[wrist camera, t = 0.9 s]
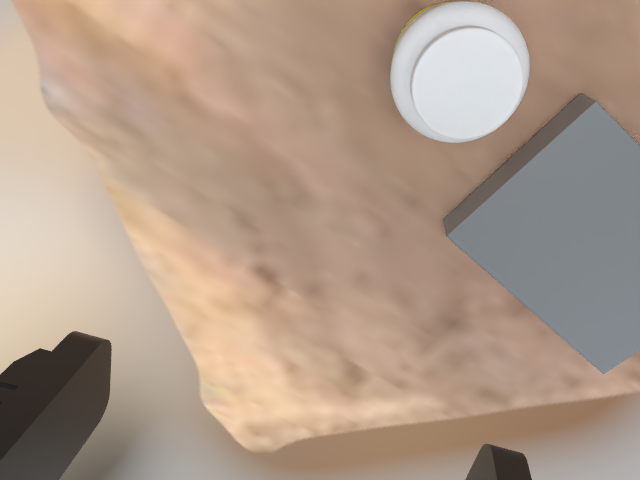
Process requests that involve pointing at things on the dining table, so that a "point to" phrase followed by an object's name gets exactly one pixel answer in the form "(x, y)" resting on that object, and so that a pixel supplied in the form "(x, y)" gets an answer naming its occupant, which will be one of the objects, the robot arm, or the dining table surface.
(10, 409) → the robot arm
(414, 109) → the supplement bottle
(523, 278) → the block
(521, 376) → the dining table surface
